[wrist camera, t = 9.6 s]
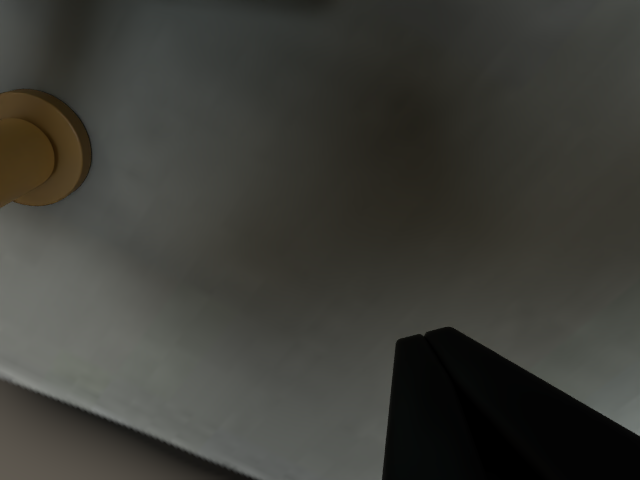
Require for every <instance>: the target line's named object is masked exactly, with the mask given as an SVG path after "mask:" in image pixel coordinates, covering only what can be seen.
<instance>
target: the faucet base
mask: <svg viewBox="0 0 640 480" xmlns="http://www.w3.org/2000/svg"><path fill="white" fill-rule="evenodd" d="M7 118H17V119H22V120H25V121H28V122H30V123H32V124H33V125H35V126H36V127H38V128H39V129H40V130H41V131H42V132H43V133H44V134H45V135H46V137H47V138H48V140H49V141H50V143H51V145H52V148H53V151H54V159H55V161H54V168H53V171H52V173H51V175H50V177H49V178H48V179H47V180H46V181H45V182H44V183H42V184H41V185H39V186H37V187H36V188H34V189H32V190H30V191H29V192H27V193H25V194H24V195H22V196H20V197H18V198H17V199H15V200H13V202H16V203H19V204H23V205H29V206H45V205H49V204H53V203H56V202H58V201H60V200H62V199H64V198H65V197H67V196H68V195H70V194H71V193H72V192H74V191H75V190H76V189H77V188H78V187H79V186H80V185H81V184H82V183H83V181H84V180H85V178H86V176H87V174H88V171H89V168H90V163H91V147H90V142H89V138H88V135H87V132H86V130H85V128H84V126H83V124H82V122H81V121H80V120H79V118H78V117H77V115H76V114H75V113H74V112H73V111H72V110H71V109H70V108H69V107H68V106H67V105H66V104H64V103H63V102H62V101H60V100H59V99H57V98H55V97H54V96H52V95H49V94H47V93H45V92H41V91H38V90H32V89H17V90H12V91H8V92H4V93H0V120H3V119H7Z"/></svg>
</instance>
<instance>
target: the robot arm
mask: <svg viewBox="0 0 640 480" xmlns="http://www.w3.org/2000/svg"><path fill="white" fill-rule="evenodd" d="M382 480H640V436H638V435H637V434H635V433H633V432H632V431H630V430H628V429H626V428H625V427H623V426H621V425H619V424H618V423H616V422H614V421H613V420H611V419H609V418H607V417H606V416H604V415H602V414H601V413H599V412H597V411H595V410H594V409H592V408H590V407H588V406H587V405H585V404H583V403H582V402H580V401H578V400H576V399H575V398H573V397H571V396H570V395H568V394H566V393H564V392H563V391H561V390H559V389H558V388H556V387H554V386H552V385H551V384H549V383H547V382H545V381H544V380H542V379H540V378H539V377H537V376H535V375H533V374H532V373H530V372H528V371H527V370H525V369H523V368H521V367H520V366H518V365H516V364H514V363H513V362H511V361H509V360H508V359H506V358H504V357H502V356H501V355H499V354H497V353H496V352H494V351H492V350H490V349H489V348H487V347H485V346H483V345H482V344H480V343H478V342H477V341H475V340H473V339H471V338H470V337H468V336H466V335H465V334H463V333H461V332H459V331H458V330H456V329H454V328H452V327H444V328H440V329H436V330H432V331H428V332H426V333H425V335H424V336H423V335H421V334H417V335H413V336H409V337H405V338H402V339H399V340H398V341H397V342H396V347H395V357H394V366H393V376H392V386H391V396H390V406H389V416H388V426H387V436H386V445H385V455H384V465H383V475H382Z"/></svg>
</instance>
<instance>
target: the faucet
mask: <svg viewBox="0 0 640 480" xmlns="http://www.w3.org/2000/svg"><path fill="white" fill-rule="evenodd" d="M54 161H55V159H54V151H53V148H52V145H51V143H50V141H49V140H48V138H47V137H46V135H45V134H44V133H43V132H42V131H41V130H40V129H39V128H38V127H36V126H35V125H33V124H32V123H30V122H28V121H25V120H22V119H17V118H7V119H3V120H0V208H1V207H3V206H5V205H6V204H8V203H10V202H12V201H13V200H15V199H17V198H18V197H20V196H22V195H24V194H25V193H27V192H29V191H30V190H32V189H34V188H36V187H37V186H39V185H41V184H42V183H44V182H45V181H46V180H47V179H48V178H49V177H50V175H51V173H52V171H53V168H54Z"/></svg>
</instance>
